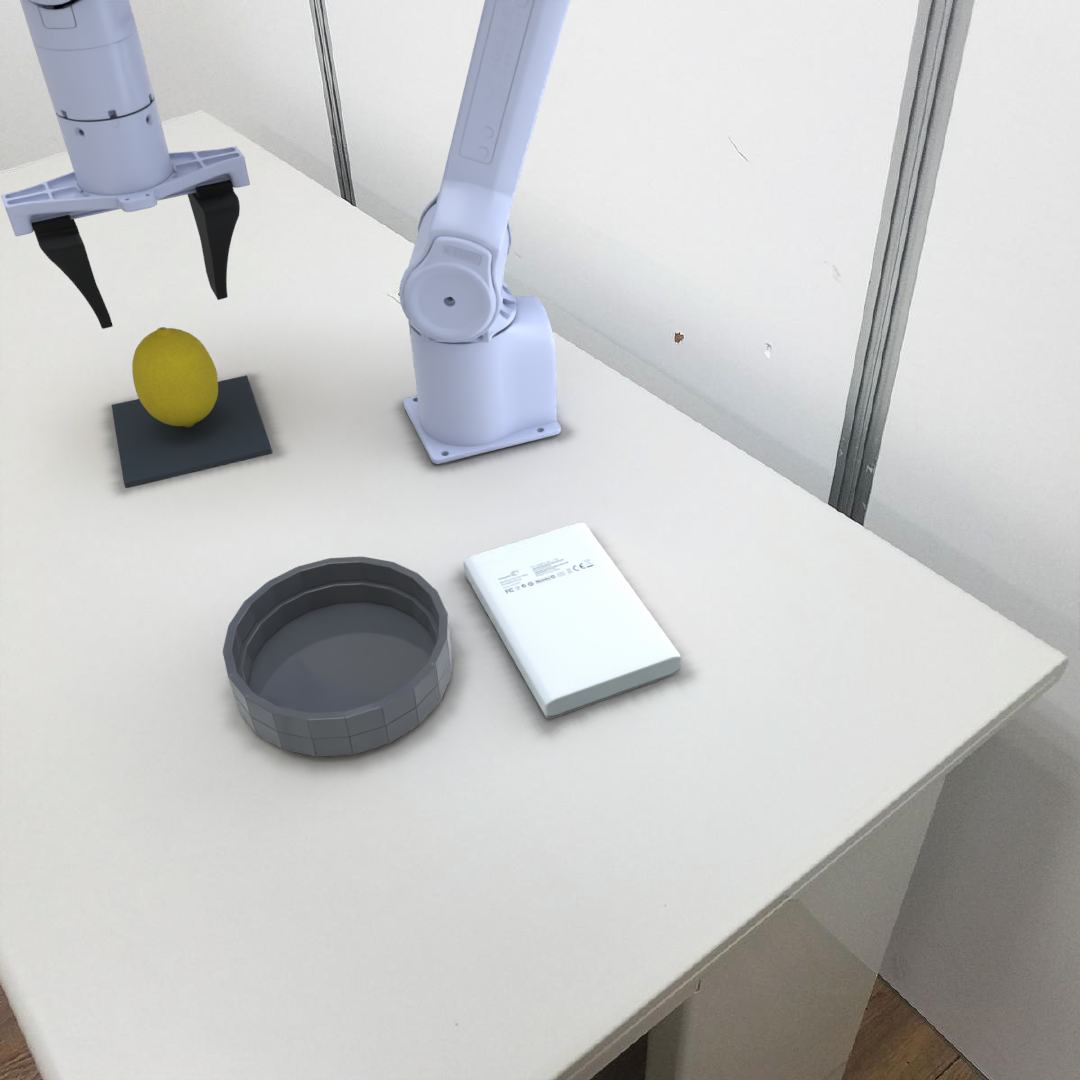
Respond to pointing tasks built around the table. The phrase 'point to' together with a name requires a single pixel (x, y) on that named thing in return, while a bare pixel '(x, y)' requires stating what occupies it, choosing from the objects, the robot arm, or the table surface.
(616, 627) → the hard drive
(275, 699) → the pan
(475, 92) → the robot arm
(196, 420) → the lemon
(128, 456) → the mat
